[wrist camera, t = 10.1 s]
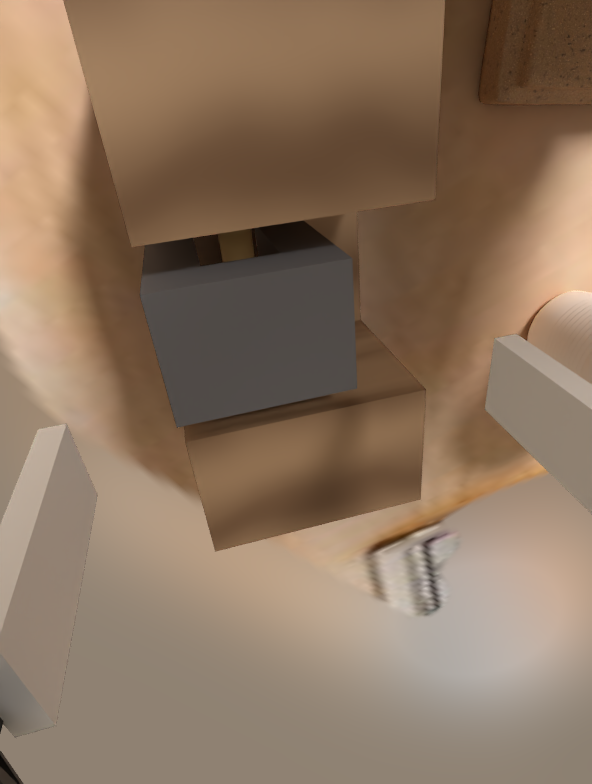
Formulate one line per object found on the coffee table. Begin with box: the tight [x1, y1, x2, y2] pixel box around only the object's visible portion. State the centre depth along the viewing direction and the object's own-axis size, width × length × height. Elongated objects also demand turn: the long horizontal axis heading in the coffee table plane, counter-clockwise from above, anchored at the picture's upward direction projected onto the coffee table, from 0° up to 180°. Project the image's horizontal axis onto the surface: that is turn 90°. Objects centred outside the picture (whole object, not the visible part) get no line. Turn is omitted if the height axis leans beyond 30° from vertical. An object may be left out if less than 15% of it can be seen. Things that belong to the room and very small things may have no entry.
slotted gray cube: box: [140, 220, 357, 428], centre depth 24 cm, size 6×8×9 cm
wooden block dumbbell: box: [63, 0, 445, 551], centre depth 26 cm, size 24×12×11 cm, turn 6°
